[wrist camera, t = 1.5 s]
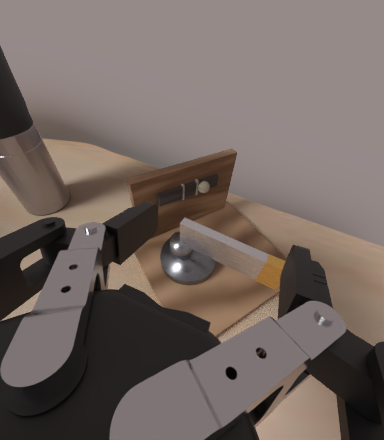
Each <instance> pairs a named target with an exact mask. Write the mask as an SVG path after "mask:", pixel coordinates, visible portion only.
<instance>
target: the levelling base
mask: <svg viewBox="0 0 384 440" xmlns="http://www.w3.org/2000/svg"><path fill="white" fill-rule="evenodd" d="M236 155H237V152H236V151H234V150H233V149H229V150H226V151H222V152H219V153H215V154H212V155H208V156H205V157H201V158H198V159H194V160H191V161H187V162H184V163H181V164H177V165H174V166H170V167H167V168H163V169H159V170H156V171H152V172H149V173H146V174H142V175H139V176H135V177H132V178H128V179H127V183H128V188H129V192H130V197H131V201H132V206H133V207H135V206H138V205H140V204H141V203H143V202H145V201H148V202H151V203H154V204H157V205H158V228H157V231H156V233H155V234H154V235H153V236H152V237H151V238H150V239H149V240H148V241H147V242H146V243H144V244H143V245H142V246H141V247H140V248H139V249H138V250H137V251H135V252H134V253H135V255H136V257H137V259H138V261H139V263H140V265H141V267H142V269H143V271H144V273H145V275H146V277H147V279H148V281H149V283H150V285H151V287H152V289H153V291H154V293H155V295H156V297H157V299H158V301H159V303H160V305H161V307H164V308H169V309H175V310H180V311H185V312H189V313H191V314H193V315H195V316H198V317H200V318H202V319H204V320H206V321H209V322H211V324H210V328H209V331H210V332H211V333H212V334H213V335H214V336H215V337H217V336H218V335H220V334H221V333H223V332H224V331H225V330H227V329H228V328H230V327H231V326H233V325H234V324H235V323H237V322H238V321H240V320H241V319H242V318H244V317H245V316H247V315H248V314H249V313H251V312H252V311H254V310H255V309H256V308H258V307H259V306H261V305H262V304H264V303H265V302H266V301H268V300H269V299H271V298H272V297H273V296H275V295H276V294H278V293H279V291H280V285H279V287H278V288H277V289H276V290H274V289H272V288H270V287H268V286H266V285H264V284H261V283H259V282H257V281H255V280H254V279H252V278H250V277H248V276H246V275H244V274H242V273H240V272H238V271H236V270H234V269H232V268H230V267H228V266H225V265H223V264H221V263H219V262H216V266H215V269H214V271H213V273H212V275H211V276H210V277H209V278H208V279H207V280H205V281H204V282H202V283H199V284H196V285H182V284H178V283H176V282H174V281H172V280H171V279H170V278H168V277H167V275H166V274H165V273H164V271H163V269H162V266H161V259H160V253H161V249H162V247H163V245H164V243H165V242H166V241H167V240H168V239H169V238H170V237H171V236H172V235H173V234H174V233H175V232H178V231H180V223H181V221H182V220H183V219H184V218H187V219H189V220H192V221H194V222H196V223H199V224H201V225H203V226H205V227H208V228H210V229H212V230H214V231H217V232H219V233H221V234H224V235H226V236H228V237H230V238H233V239H235V240H237V241H239V242H242V243H244V244H246V245H249V246H251V247H253V248H255V249H258V250H260V251H262V252H264V253H267V254H270V255H273V256H275V257H277V258H279V259H282V260H284V261H286V260H287V259H286V258H285V257H284V256H283V255H282V254H281V253H280V252H279V251H278V250H277V249H275V248H274V247H273V246H272V245H271V244H270V243H269V242H268V241H267V240H266V239H265V238H264V237H263V236H262V235H261V234H260V233H259V232H258V231H257V230H256V229H255V228H254V227H253V226H252V225H251V224H250V223H249V222H248V221H247V220H246V219H245V218H244V217H243V216H242V215H241V214H240V213H239V212H238V211H237V210H236V209H235V208H233V207H232V206H231V205H230V204H229V203H228V202H227V201H226V198H227V194H228V189H229V185H230V181H231V176H232V172H233V168H234V164H235V160H236Z"/></svg>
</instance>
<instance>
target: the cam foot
mask: <svg viewBox="0 0 384 440" xmlns="http://www.w3.org/2000/svg"><path fill="white" fill-rule="evenodd" d="M160 259H161V266H162V269H163V271H164V273H165V274H166V275H167V277H168V278H170V279H171V280H172V281H174V282H176V283H178V284H182V285H196V284H199V283H202V282H204V281H205V280H207V279H208V278H209V277H210V276H211V275H212V273H213V271H214V269H215V266H216V262H219V263H221V264H223V265H225V266H228V267H230V268H232V269H234V270H236V271H238V272H240V273H242V274H244V275H246V276H248V277H250V278H252V279H254V280H255V281H257V282H259V283H261V284H264V285H266V286H268V287H270V288H272V289H274V290H276V289H277V288H278V287H279V285H280V277H281V272H282V269H283V267H284V264H285V262H286V261H284V260H282V259H279V258H277V257H275V256H273V255H270V254H267V253H264V252H262V251H260V250H258V249H255V248H253V247H251V246H249V245H246V244H244V243H242V242H239V241H237V240H235V239H233V238H230V237H228V236H226V235H224V234H221V233H219V232H217V231H214V230H212V229H210V228H208V227H205V226H203V225H201V224H199V223H196V222H194V221H192V220H189V219H187V218H184V219H183V220H182V221H181V223H180V231H178V232H175V233H174V234H173V235H172V236H171V237H170V238H169V239H168V240H167V241H166V242H165V243H164V245H163V247H162V249H161V253H160Z"/></svg>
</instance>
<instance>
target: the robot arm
mask: <svg viewBox="0 0 384 440" xmlns="http://www.w3.org/2000/svg"><path fill="white" fill-rule="evenodd" d="M0 176H1V177H2V179H3V180H4V181H5V182H6V184H7V185H8V186H9V188H10V189H11V190H12V192H13V193H14V194H15V196H16V197H17V198H18V200H19V201H20V202H21V204H22V205H23V206H24V208H25V209H26V210H27V211H28V212H29V213H31V214H34V215H47V214H51V213H54V212H56V211H58V210H60V209H62V208H63V207H64V206H65V205H66V204H67V203H68V202H69V200H70V194H69V192H68V190H67V188H66V186H65V184H64V182H63V180H62V178H61V176H60V174H59V172H58V170H57V168H56V166H55V164H54V162H53V160H52V158H51V156H50V154H49V152H48V150H47V148H46V146H45V144H44V142H43V140H42V138H41V137H40V134H39V132H38V130H37V129H36V127H35V125H34V123H33V120H32V118H31V117H30V114H29V112H28V109H27V106H26V103H25V101H24V98H23V96H22V94H21V92H20V89H19V87H18V85H17V83H16V81H15V79H14V77H13V74H12V72H11V70H10V68H9V65H8V63H7V60H6V58H5V56H4V53H3V51H2V49H1V47H0ZM157 228H158V205H157V204H154V203H151V202H148V201H145V202H143V203H141V204H140V205H138V206H135V207H132V208H128V209H127V210H125V211H123V213H120V214H118V215H116V216H115V217H113V218H111V219H110V220H108V221H106V222H104V223H103V224H101V223H96V222H91V223H86V224H83V225H80V226H79V227H78V228H77V229H75V228H66V226H65V222H64V220H63V219H61V218H57V217H51V218H45V219H41V220H39V221H37V222H34V223H32V224H30V225H28V226H26V227H23V228H21V229H19V230H17V231H15V232H13V233H10V234H8V235H6V236H4V237H2V238H0V440H259V437H258V434H257V432H256V429H255V427H256V426H258V425H259V424H260V423H261V422H262V421H263V420H264V419H265V418H266V417H267V416H268V415H270V414H271V412H272V411H273V410H274V409H275V408H276V407H277V406H278V405H279V404H280V403H281V402H282V401H283V400H284V399H285V398H286V397H287V396H288V395H290V394H291V393H292V392H293V391H294V390H295V389H296V388H297V387H299V386H300V385H301V384H302V383H303V382H304V381H305V380H306V379H308V378H309V377H310V376H311V375H312V376H313V377H315V378H316V379H317V380H319V381H320V382H321V383H322V384H324V385H325V386H326V387H327V388H329V389H330V390H331V391H333V392H334V393H335V394H336V395H337V404H338V414H339V423H340V432H341V440H384V342H379V343H377V344H376V345H375V346H372V345H370V344H369V343H367V342H366V341H364V340H362V339H361V338H359V337H357V336H356V335H354V334H353V333H351V332H350V331H349V330H347V329H346V323H345V321H344V319H343V318H342V317H341V315H340V314H339V313H338V312H337V311H336V310H334V309H333V307H332V303H331V298H330V294H329V289H328V286H327V280H326V276H325V271H324V269H323V268H322V267H321V265H320V264H319V263H318V262H316V261H312V260H311V256H310V250H309V249H306V248H303V247H299V246H296V245H293V246H292V248H291V250H290V253H289V255H288V257H287V260H286V262H285V264H284V267H283V269H282V272H281V277H280V291H279V308H278V320H276V321H275V320H274V319H273V318H272V317H268V318H266V319H264V320H262V321H260V322H258V323H257V324H255V325H253V326H251V327H249V328H248V329H246V330H244V331H242V332H241V333H239V334H237V335H235V336H234V337H232V338H230V339H228V340H226V341H225V342H223V343H221V342H220V341H219V340H218V339H217V338H216V337H215V336H214V335H213V334H212V333H211V332H210V331H209V328H210V324H211V322H209V321H206V320H204V319H202V318H200V317H198V316H195V315H193V314H191V313H189V312H185V311H180V310H175V309H169V308H164V307H161V306H160V305H158V304H157V303H156V302H155V301H154V300H152V299H151V298H150V297H149V296H147V295H146V294H145V293H144V292H142V291H139V290H137V289H135V288H133V287H130V286H128V285H126V284H124V285H123V286H122V287H121V288H120V289H119V290H113V289H108V290H107V288H108V280H109V272H110V263H111V262H115V263H117V264H119V265H121V264H122V263H123V262H124V261H125V260H126V259H127V258H129V257H130V256H131V255H132V254H133V253H134V252H135V251H137V250H138V249H139V248H140V247H141V246H142V245H143V244H144V243H146V242H147V241H148V240H149V239H150V238H151V237H152V236H153V235H154V234H155V233H156V231H157ZM38 249H40V250H41V253H42V257H43V258H42V259H40V260H39V261H37V262H36V263H34V264H32V265H31V266H29V267H28V268H26V269H24V270H23V271H22V270H21V268H20V263H21V261H22V259H23V258H24V257H26V256H28V255H29V254H31V253H33V252H34V251H36V250H38ZM40 290H42V291H41V293H40V295H39V297H38V300H37V302H36V304H35V306H34V308H33V310H32V311H31V312H29V313H25V314H22V315H19V316H16V317H13V318H10V319H7V320H4V321H1V320H2V319H4V318H5V317H6V316H7V315H9V314H10V313H11V312H13V311H14V310H15V309H17V308H18V307H19V306H21V305H22V304H23V303H25V302H26V301H27V300H28V299H30V298H31V297H32V296H34V295H35V294H36V293H38V292H39V291H40Z"/></svg>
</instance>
